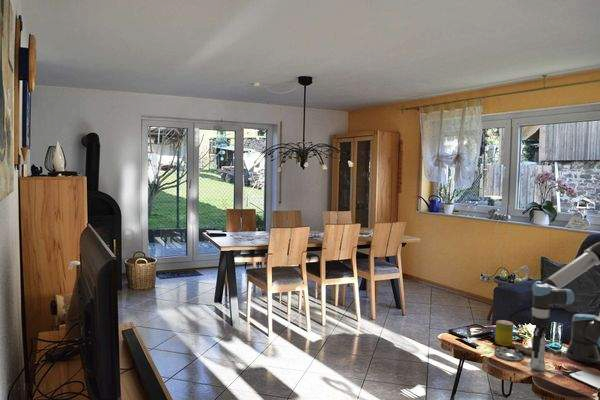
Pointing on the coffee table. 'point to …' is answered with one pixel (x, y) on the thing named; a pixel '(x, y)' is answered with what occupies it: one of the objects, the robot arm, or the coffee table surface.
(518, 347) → the grey rectangular block
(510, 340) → the yellow cylinder
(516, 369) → the coffee table surface
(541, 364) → the plastic bottle
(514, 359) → the flange
